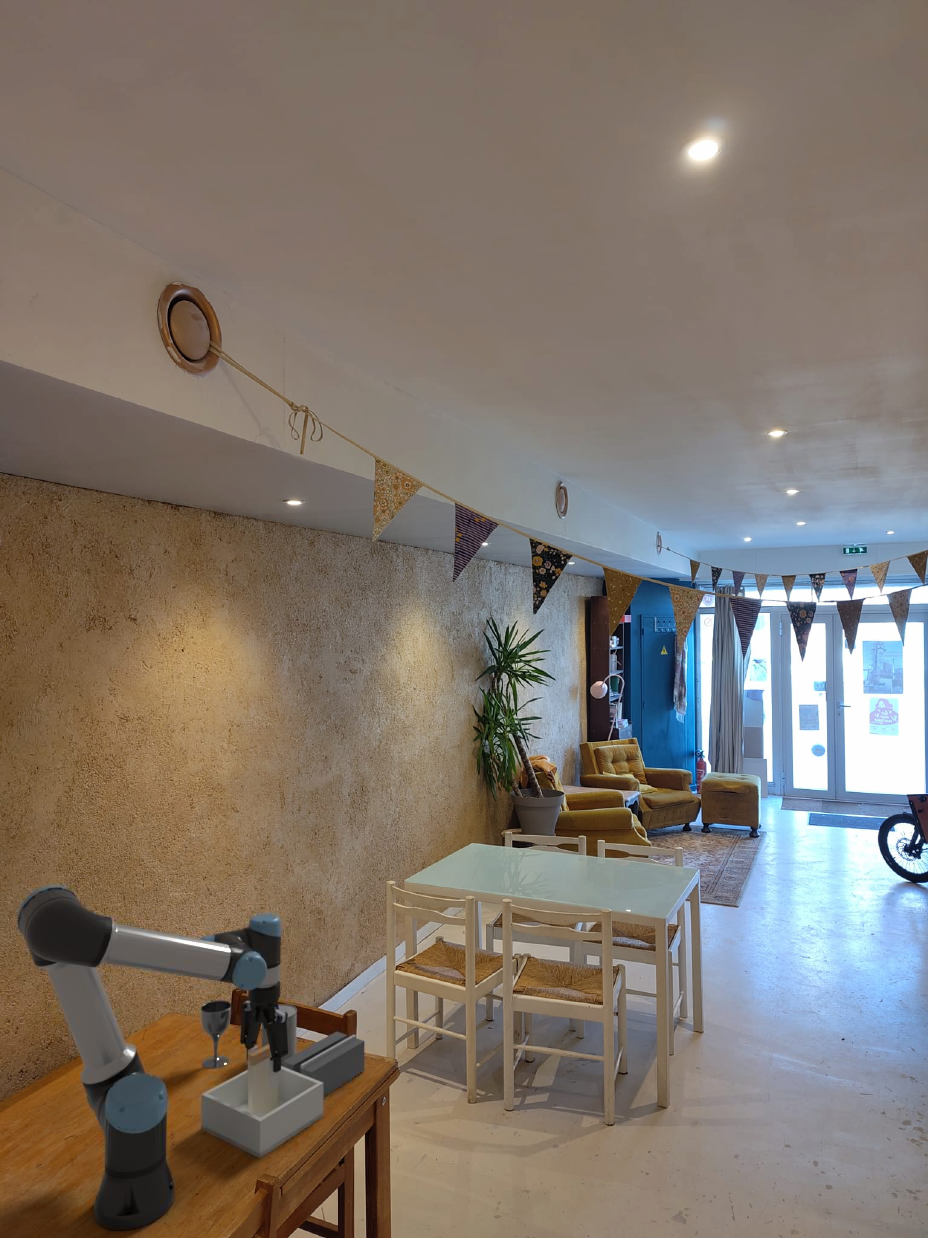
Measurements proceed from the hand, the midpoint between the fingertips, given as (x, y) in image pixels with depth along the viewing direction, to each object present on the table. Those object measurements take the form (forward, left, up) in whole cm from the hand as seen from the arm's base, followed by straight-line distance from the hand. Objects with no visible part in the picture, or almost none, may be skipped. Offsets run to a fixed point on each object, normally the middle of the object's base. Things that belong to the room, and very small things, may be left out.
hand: (263, 1080), depth 198 cm
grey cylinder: (+25, +21, -10) cm, 34 cm away
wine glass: (+13, +33, -10) cm, 37 cm away
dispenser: (+22, +1, -10) cm, 24 cm away
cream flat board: (0, 0, -9) cm, 9 cm away
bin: (0, 0, -10) cm, 10 cm away
